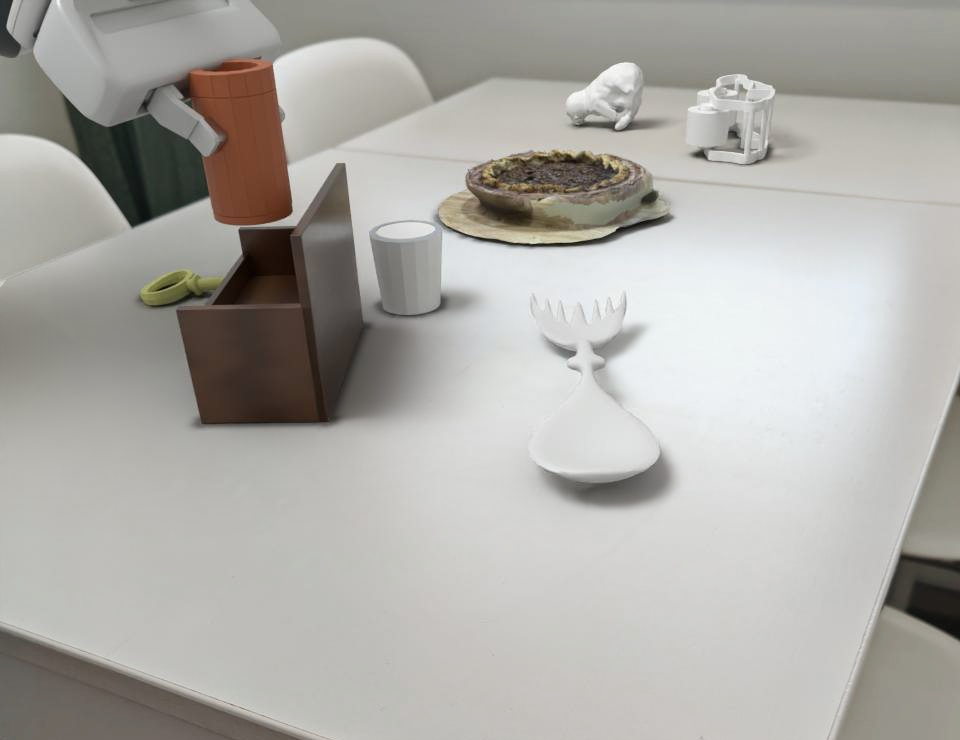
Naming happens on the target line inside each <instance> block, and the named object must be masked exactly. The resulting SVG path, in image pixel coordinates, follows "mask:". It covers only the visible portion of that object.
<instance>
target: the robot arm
mask: <svg viewBox="0 0 960 740" xmlns="http://www.w3.org/2000/svg"><path fill="white" fill-rule="evenodd" d="M282 48H283V42H282V39H281V35H280V33H279V31H278V30H277V28H276V27H275V26H274V25H273V23H272V22H271V21H270V20H269V18H267V17H266V16H265V15H264V14H263V13H262V12H261V11H260V9H258V7H257V6H256V5H255V4H254V3H253V2H252V1H251V0H0V56H1V57H5V58H7V59H14V58H17V57H18V56H23V55H27V54H30V53H32V52H33V56H34V58H35V61H36V62H37V64H38V66H39V67H40V68H41V70H42V71H43V73H45V75H46V76H47V77H48V78H49V80H50V82H52V83H53V84H54V85H55V87H56V88H57V89H58V90H59V91H60V92H61V93H62V95H64V97H65V98H66V99H67V100H68V101H69V102H70V103H71V104H72V105H73V106H74V108H76V109H77V110H78V111H79V112H80V113H81V115H83V116H84V117H85V118H87V119H89V120H91V121H93V122H94V123H96V124H99V125H101V126H103V127H106V128H110V127H113V126H117V125H119V124H122V123H125V122H128V121H131V120H135V119H137V118H138V119H139V118H141V117H144V116H148V115H151V116H152V117H153V118H154V119H155V120H156V122H157V123H158V124H159V125H160V126H161V127H163V128H166V129H168V130H169V131H170V132H171V131H172V132H173V133H175V134H176V135H178V136H180V137H182V138H183V139H185V140H189V142H190V143H191V144H192V145H193V146H194V147H195V148H196V149H197V151H199V153H200V154H201V156H202V155H203V156H205V157H207V156H210V155H213V154H215V153H218V152H220V151H221V150H222V148H223V146H224V145H225V144H226V142H227V138H228V137H227V134H226V132H225V131H224V130H223V129H222V128H220V127H219V124H218V123H217V122H216V121H215V120H214V119H213V118H212V117H209V118H205V119H204V117H202V116H201V115H200V114H198V113H197V112H195V111H194V110H193V108H191V107H190V106H189V105H188V104H186V103H187V102H190V101H191V96H190V91H189V85H188V80H187V78H188V77H189V72H190V71H194V70H197V69H201V70H203V71H210V72H211V71H214V70H217V69H218V68H219V67H220V66H221V65H222V62H225V61H228V60H232V59H260V60H265V61H270V62H271V63H272V64H273V65H274V63H275V62H276V59H277V58H278V56H279V55H280V53H281V51H282ZM279 111H280V118H281V125H282V124H283V122H284V121H285V119H286V112H285V111H284V109H283V108H282V107H281V106H280V105H279Z"/></svg>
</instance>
